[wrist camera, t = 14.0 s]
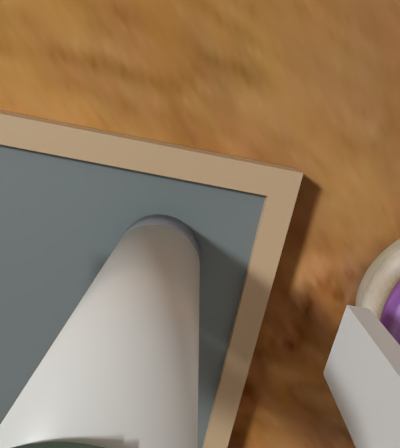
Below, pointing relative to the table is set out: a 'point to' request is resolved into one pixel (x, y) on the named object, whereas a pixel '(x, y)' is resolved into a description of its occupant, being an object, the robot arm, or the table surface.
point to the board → (114, 230)
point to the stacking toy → (383, 289)
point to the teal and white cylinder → (122, 353)
